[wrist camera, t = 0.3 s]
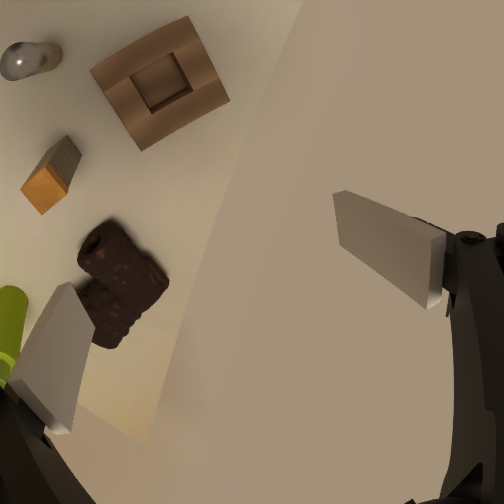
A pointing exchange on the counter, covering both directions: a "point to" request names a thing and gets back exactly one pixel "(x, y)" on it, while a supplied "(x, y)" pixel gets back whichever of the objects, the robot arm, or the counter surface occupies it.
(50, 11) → the counter surface
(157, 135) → the socket block
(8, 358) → the soap dispenser
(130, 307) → the pipe
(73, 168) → the square bit
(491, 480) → the robot arm
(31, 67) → the cylinder
